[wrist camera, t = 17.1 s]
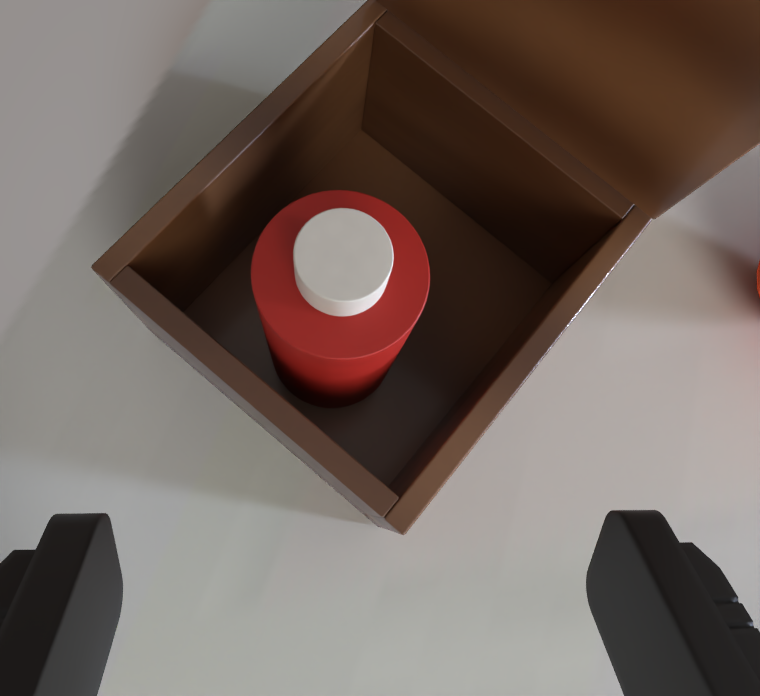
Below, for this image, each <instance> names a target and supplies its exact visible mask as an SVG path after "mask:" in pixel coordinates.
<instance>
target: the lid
mask: <svg viewBox="0 0 760 696" xmlns="http://www.w3.org/2000/svg"><path fill="white" fill-rule="evenodd" d="M376 1H377V2H378V3H379V4H381V5H382V6H383V7H385V8H386V9H387V10H388V11H390V12H391V13H392V14H393V15H395V16H396V17H397V18H398V19H400V20H401V21H402V22H404V23H405V24H406V25H407V26H409V27H410V28H411V29H412V30H414V31H415V32H416V33H418V34H419V35H420V36H421V37H423V38H424V39H425V40H426V41H428V42H429V43H430V44H431V45H433V46H434V47H435V48H437V49H438V50H439V51H440V52H442V53H443V54H444V55H445V56H447V57H448V58H449V59H450V60H452V61H453V62H454V63H456V64H457V65H458V66H459V67H461V68H462V69H463V70H464V71H466V72H467V73H468V74H470V75H471V76H472V77H473V78H475V79H476V80H477V81H478V82H480V83H481V84H482V85H483V86H485V87H486V88H487V89H489V90H490V91H491V92H492V93H494V94H495V95H496V96H497V97H499V98H500V99H501V100H502V101H504V102H505V103H506V104H508V105H509V106H510V107H511V108H513V109H514V110H515V111H516V112H518V113H519V114H520V115H521V116H523V117H524V118H525V119H527V120H528V121H529V122H530V123H532V124H533V125H534V126H535V127H537V128H538V129H539V130H541V131H542V132H543V133H544V134H546V135H547V136H548V137H549V138H551V139H552V140H553V141H554V142H556V143H557V144H558V145H560V146H561V147H562V148H563V149H565V150H566V151H567V152H568V153H570V154H571V155H572V156H573V157H575V158H576V159H577V160H579V161H580V162H581V163H582V164H584V165H585V166H586V167H587V168H589V169H590V170H591V171H593V172H594V173H595V174H596V175H598V176H599V177H600V178H601V179H603V180H604V181H605V182H606V183H608V184H609V185H610V186H612V187H613V188H614V189H615V190H617V191H618V192H619V193H620V194H622V195H623V196H624V197H625V198H627V199H628V200H629V201H631V202H632V203H633V204H634V205H636V206H637V207H638V208H639V209H641V210H642V211H643V212H645V213H646V214H647V215H648V216H650V217H651V218H652V219H656V218H657V217H659V216H660V215H661V214H663V213H664V212H666V211H667V210H668V209H670V208H671V207H673V206H674V205H675V204H677V203H678V202H679V201H681V200H682V199H684V198H685V197H686V196H688V195H689V194H691V193H692V192H693V191H695V190H696V189H697V188H699V187H700V186H702V185H703V184H704V183H706V182H707V181H709V180H710V179H711V178H713V177H714V176H715V175H717V174H718V173H720V172H721V171H722V170H724V169H725V168H727V167H728V166H729V165H731V164H732V163H733V162H735V161H736V160H738V159H739V158H740V157H742V156H743V155H745V154H746V153H747V152H749V151H750V150H751V149H753V148H754V147H756V146H757V145H758V144H760V0H376Z"/></svg>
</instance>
